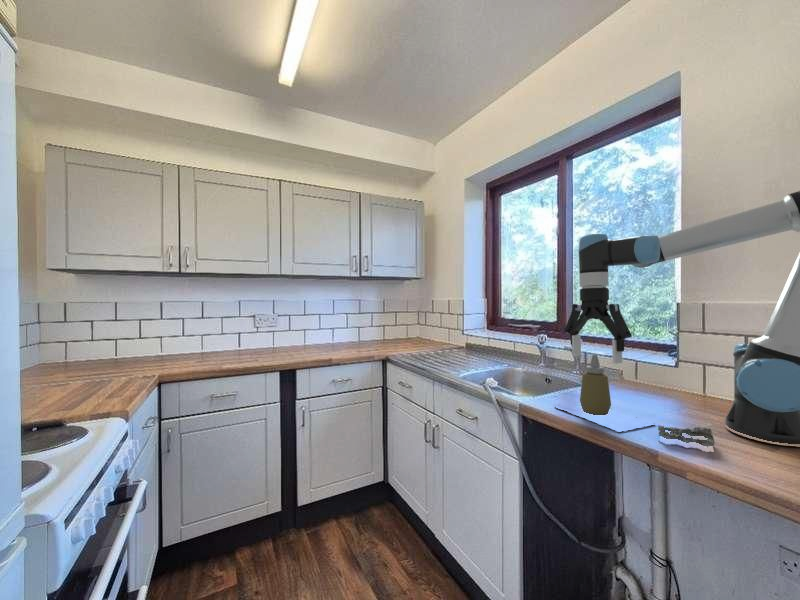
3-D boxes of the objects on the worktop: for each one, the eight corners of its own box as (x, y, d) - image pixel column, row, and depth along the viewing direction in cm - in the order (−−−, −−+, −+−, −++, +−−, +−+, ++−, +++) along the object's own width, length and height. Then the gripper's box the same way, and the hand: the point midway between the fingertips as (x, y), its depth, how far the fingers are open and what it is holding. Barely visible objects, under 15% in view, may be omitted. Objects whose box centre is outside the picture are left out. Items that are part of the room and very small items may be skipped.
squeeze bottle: (595, 421, 97) (594, 357, 97) (573, 412, 105) (573, 353, 105) (618, 418, 99) (617, 355, 99) (595, 409, 107) (594, 351, 107)
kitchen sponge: (713, 445, 83) (713, 428, 83) (715, 457, 77) (715, 438, 77) (658, 434, 90) (658, 418, 90) (656, 443, 84) (656, 427, 84)
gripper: (645, 285, 91) (647, 365, 91) (569, 288, 115) (571, 352, 115) (625, 285, 89) (627, 367, 89) (551, 289, 112) (553, 354, 112)
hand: (595, 359), depth 102 cm, fingers open, 13 cm apart
